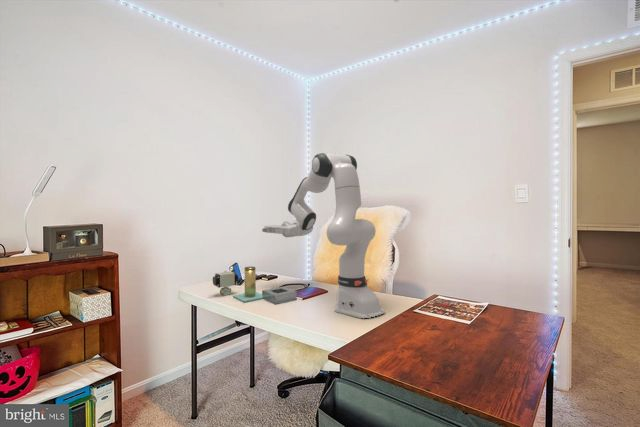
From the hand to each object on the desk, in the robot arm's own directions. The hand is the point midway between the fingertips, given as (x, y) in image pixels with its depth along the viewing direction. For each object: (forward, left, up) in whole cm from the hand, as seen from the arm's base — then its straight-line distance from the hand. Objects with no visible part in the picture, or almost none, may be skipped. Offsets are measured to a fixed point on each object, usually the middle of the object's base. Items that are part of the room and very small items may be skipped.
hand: (268, 230), depth 171 cm
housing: (-13, +2, -32) cm, 35 cm away
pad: (-2, +12, -32) cm, 34 cm away
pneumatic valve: (+11, +19, -32) cm, 39 cm away
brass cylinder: (-2, +12, -31) cm, 33 cm away
